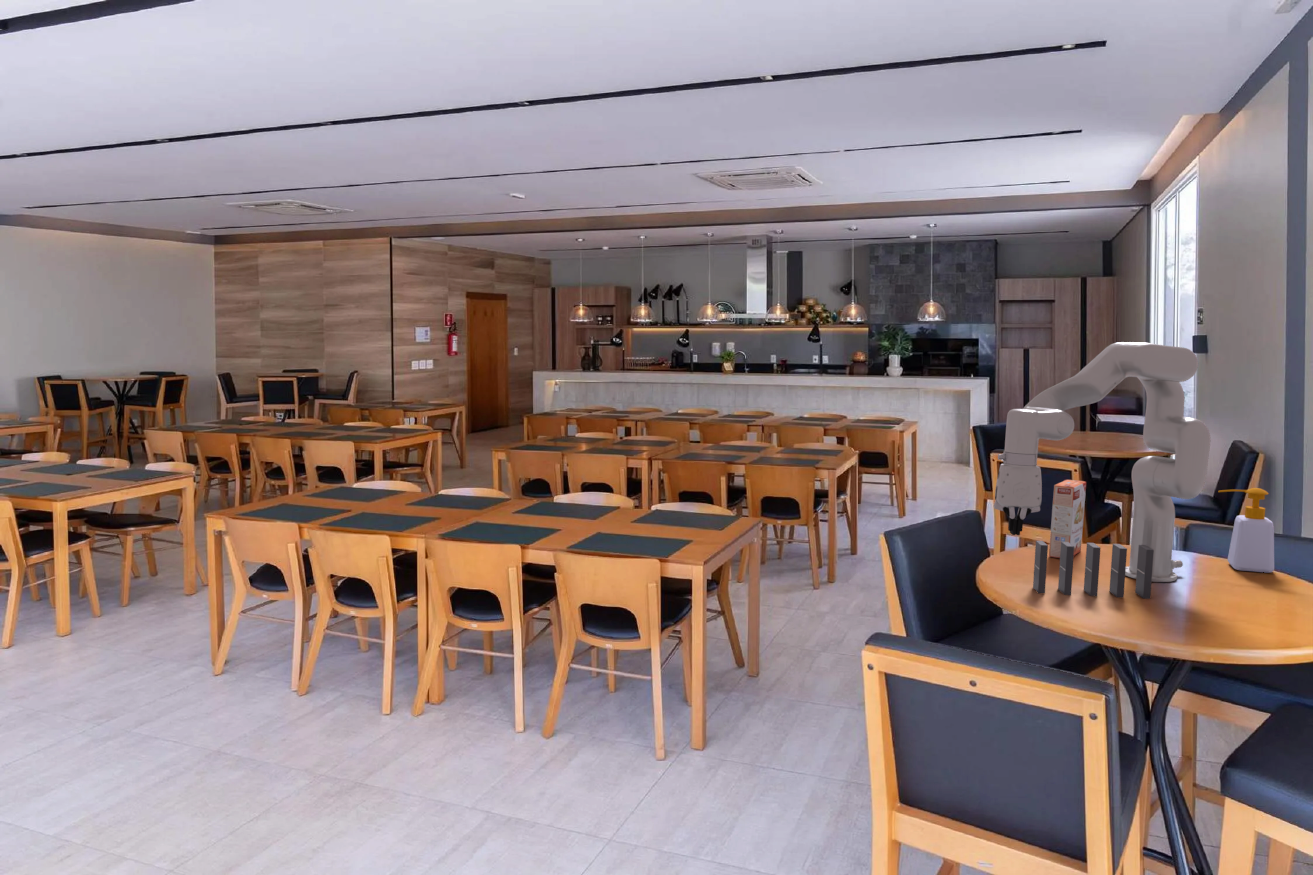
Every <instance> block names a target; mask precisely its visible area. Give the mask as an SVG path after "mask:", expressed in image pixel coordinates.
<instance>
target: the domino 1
mask: <svg viewBox="0 0 1313 875" xmlns="http://www.w3.org/2000/svg"><path fill="white" fill-rule="evenodd" d="M1034 548H1035V550H1034V551H1035V552H1034V563H1033V565H1034V566H1033V569H1034V570H1033V581H1032V582H1033V583H1032V588H1033V590H1034V589H1035V590H1036V591H1037V592H1038V593H1037V592H1036V591H1035V592H1036V593H1037V594H1040V593H1045V594H1046V583H1047V580H1046V579H1047V566H1048V565H1047V564H1048V553H1049V550H1048V549H1049V546H1048V544H1047V543H1046V541H1045V542H1044V540H1035V547H1034Z"/></svg>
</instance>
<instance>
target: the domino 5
mask: <svg viewBox="0 0 1313 875" xmlns="http://www.w3.org/2000/svg"><path fill="white" fill-rule="evenodd" d="M1153 554H1154V550H1153V549H1152V548H1150V547H1148V546H1146V545H1139V548H1138V562H1137V576H1136V579H1135V590H1134V591H1135V592H1134V593H1135V594H1136V595H1137V596H1139V597H1140V598H1142V599H1145V600H1149V599H1151V590H1152V581H1151V580H1152V567H1153Z"/></svg>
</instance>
